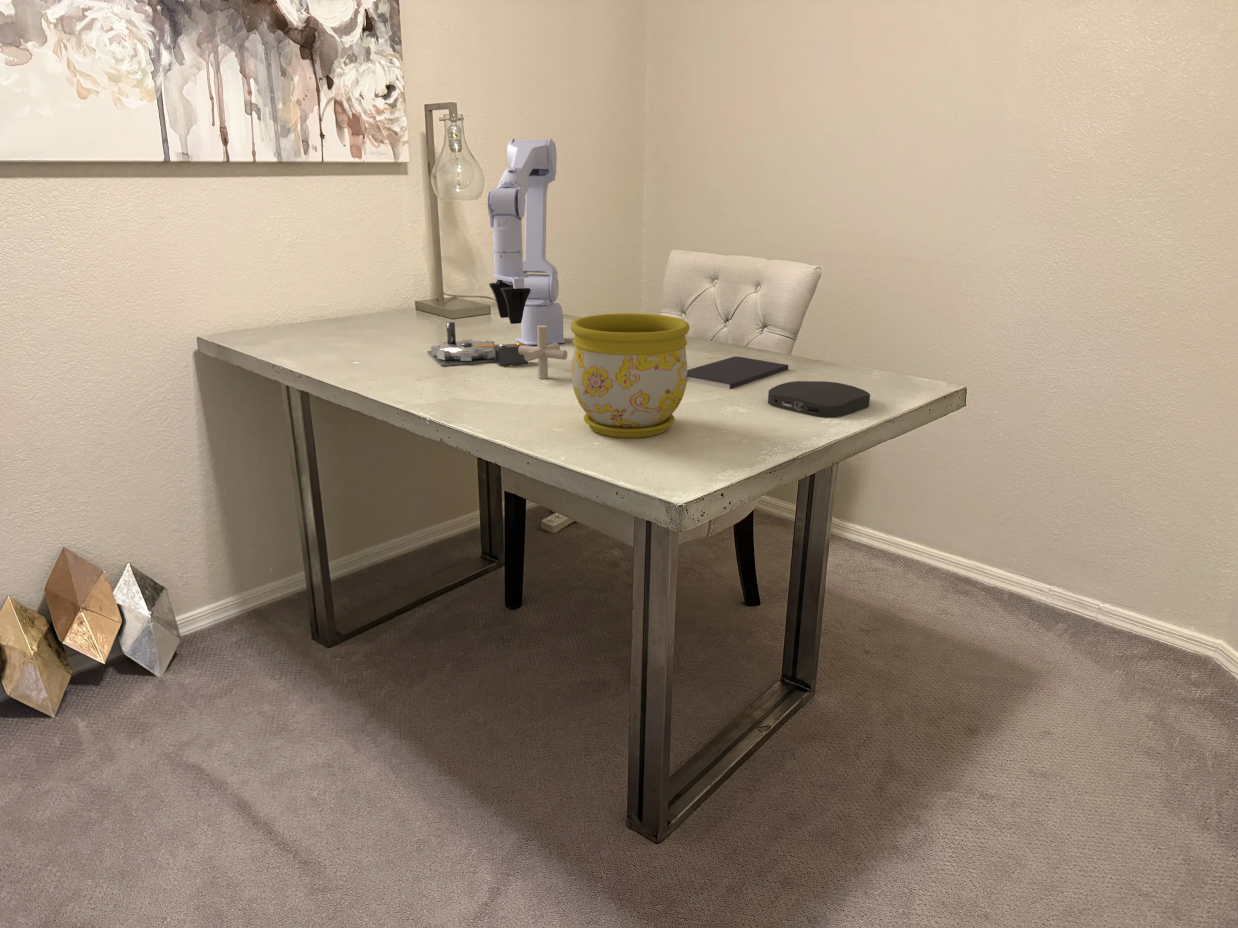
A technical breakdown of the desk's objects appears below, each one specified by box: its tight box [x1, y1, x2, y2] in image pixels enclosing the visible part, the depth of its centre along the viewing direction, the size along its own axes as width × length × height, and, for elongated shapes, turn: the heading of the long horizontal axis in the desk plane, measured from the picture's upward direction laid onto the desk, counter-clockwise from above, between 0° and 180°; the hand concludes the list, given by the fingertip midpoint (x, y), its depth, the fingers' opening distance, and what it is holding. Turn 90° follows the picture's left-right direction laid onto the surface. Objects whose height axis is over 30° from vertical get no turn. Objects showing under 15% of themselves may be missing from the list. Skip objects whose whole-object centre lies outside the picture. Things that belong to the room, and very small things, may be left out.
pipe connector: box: [518, 325, 568, 380], centre depth 162 cm, size 10×10×10 cm
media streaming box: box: [767, 380, 871, 418], centre depth 147 cm, size 15×15×3 cm
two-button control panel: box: [495, 342, 529, 367], centre depth 175 cm, size 6×3×4 cm, turn 113°
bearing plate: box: [426, 350, 496, 367], centre depth 181 cm, size 14×14×1 cm
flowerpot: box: [569, 312, 690, 439], centre depth 131 cm, size 18×18×16 cm
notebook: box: [687, 356, 789, 390], centre depth 168 cm, size 13×2×21 cm
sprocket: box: [430, 321, 501, 361], centre depth 180 cm, size 15×15×6 cm
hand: (510, 320), depth 172 cm, fingers open, 7 cm apart
